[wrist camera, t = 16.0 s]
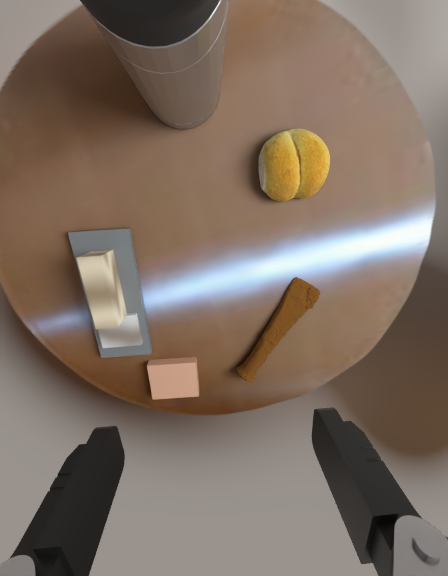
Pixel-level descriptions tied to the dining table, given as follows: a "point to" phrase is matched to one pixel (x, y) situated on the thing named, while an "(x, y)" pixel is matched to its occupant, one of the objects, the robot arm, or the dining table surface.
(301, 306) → the primitive tool
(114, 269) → the beige stepped block
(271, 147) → the bread roll
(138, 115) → the dining table surface
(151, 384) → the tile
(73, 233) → the plate
